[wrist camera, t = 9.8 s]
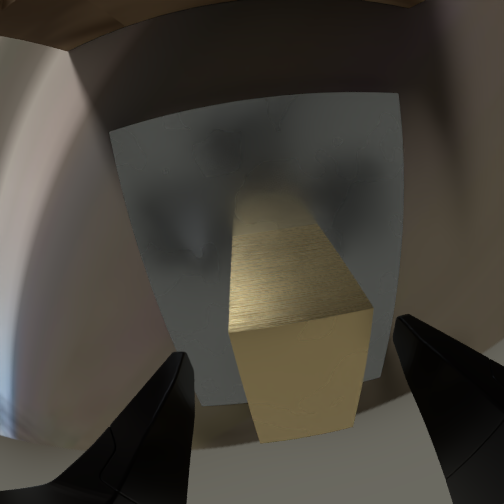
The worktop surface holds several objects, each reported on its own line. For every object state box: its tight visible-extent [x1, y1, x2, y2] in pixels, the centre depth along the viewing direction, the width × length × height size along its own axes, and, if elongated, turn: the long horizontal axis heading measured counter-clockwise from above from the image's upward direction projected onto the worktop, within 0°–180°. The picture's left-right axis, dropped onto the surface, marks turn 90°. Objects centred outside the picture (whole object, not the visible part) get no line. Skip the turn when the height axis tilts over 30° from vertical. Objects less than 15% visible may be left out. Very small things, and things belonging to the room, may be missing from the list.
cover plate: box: [109, 92, 404, 443], centre depth 9 cm, size 10×14×6 cm
